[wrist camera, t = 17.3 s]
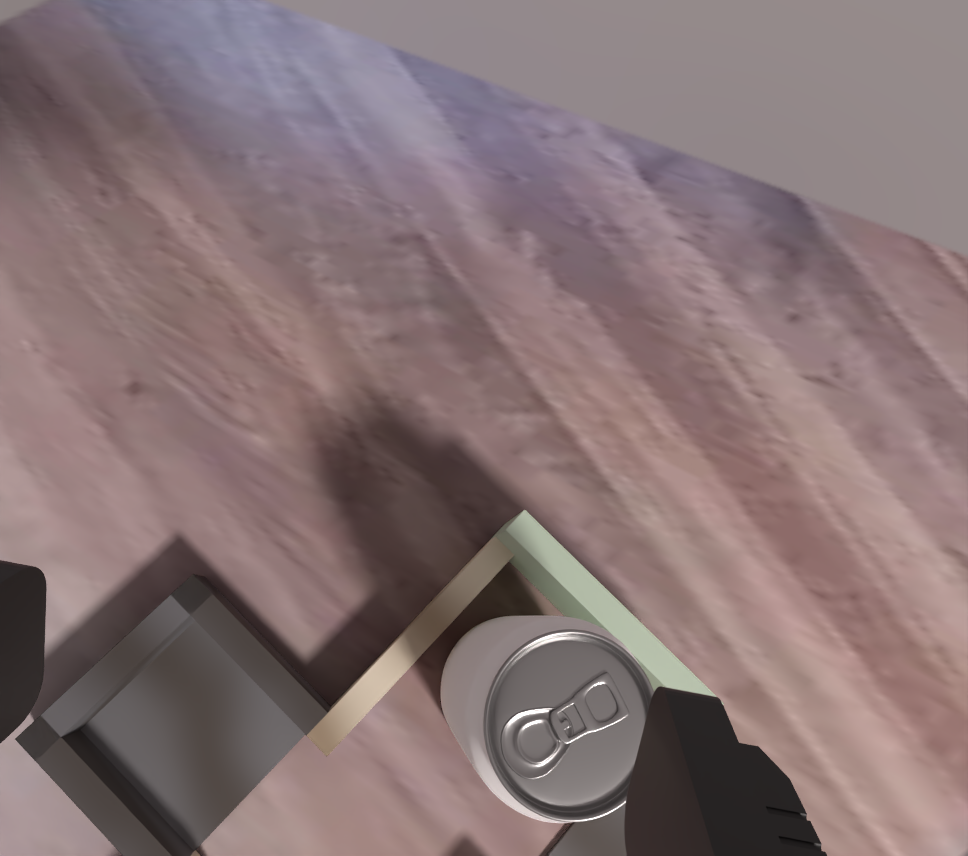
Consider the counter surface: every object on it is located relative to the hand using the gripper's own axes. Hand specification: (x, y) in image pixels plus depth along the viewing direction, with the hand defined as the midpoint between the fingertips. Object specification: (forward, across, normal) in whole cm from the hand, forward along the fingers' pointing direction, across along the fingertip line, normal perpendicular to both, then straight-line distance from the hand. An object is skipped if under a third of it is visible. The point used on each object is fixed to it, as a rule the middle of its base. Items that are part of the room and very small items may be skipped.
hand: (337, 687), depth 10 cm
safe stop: (+25, -7, +10) cm, 28 cm away
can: (+23, -4, +14) cm, 27 cm away
